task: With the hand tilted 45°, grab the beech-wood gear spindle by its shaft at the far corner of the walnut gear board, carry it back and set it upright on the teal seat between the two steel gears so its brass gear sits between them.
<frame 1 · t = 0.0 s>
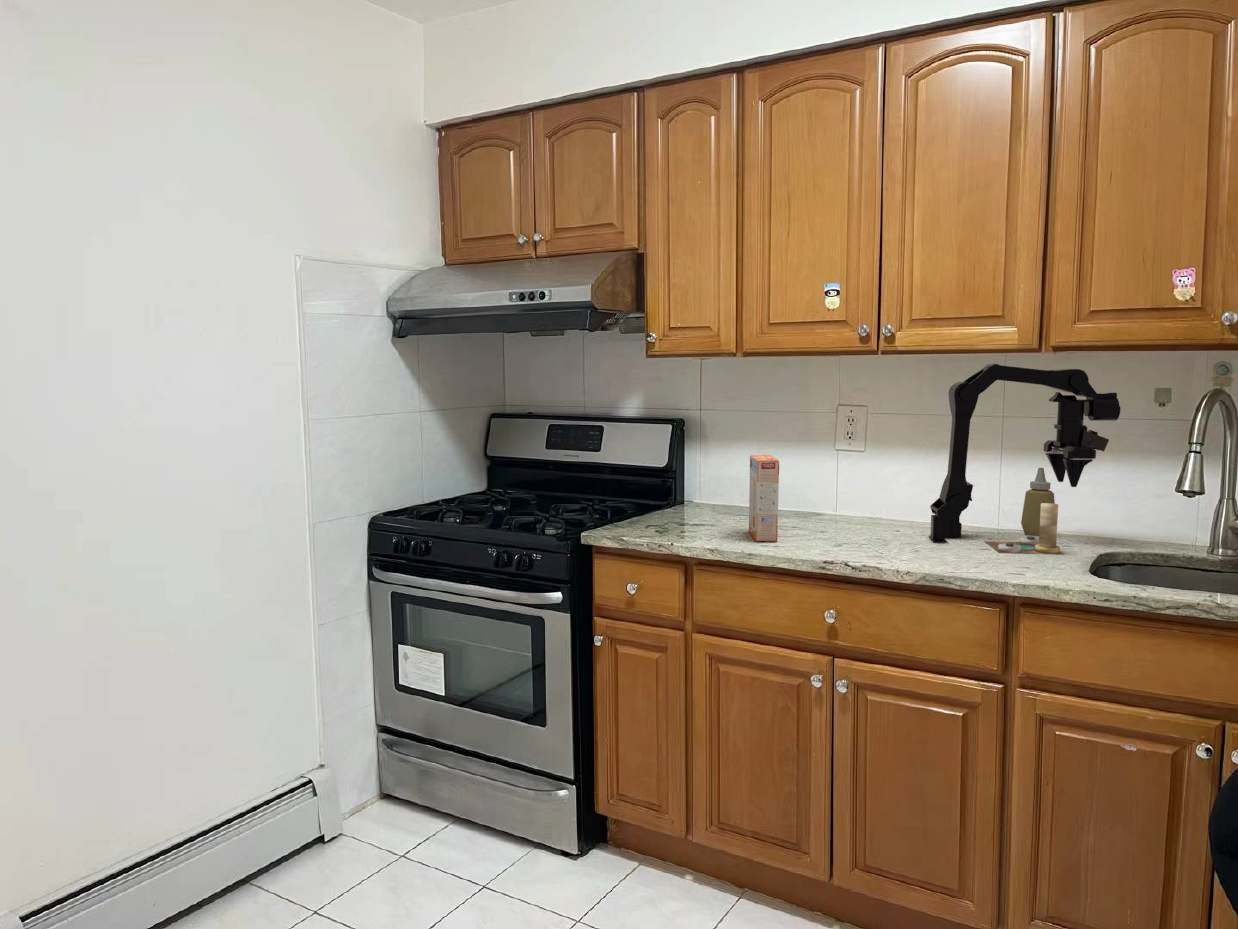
hand: (1067, 484, 218), 15 cm above the worktop, tool pointing down, fingers open, 9 cm apart
gear spindle: (1047, 551, 204), point 1 cm above the worktop, touching gear board
squeeze bottle: (1037, 539, 226), on the worktop
gear board: (1022, 552, 209), on the worktop
cracker box: (763, 537, 230), on the worktop
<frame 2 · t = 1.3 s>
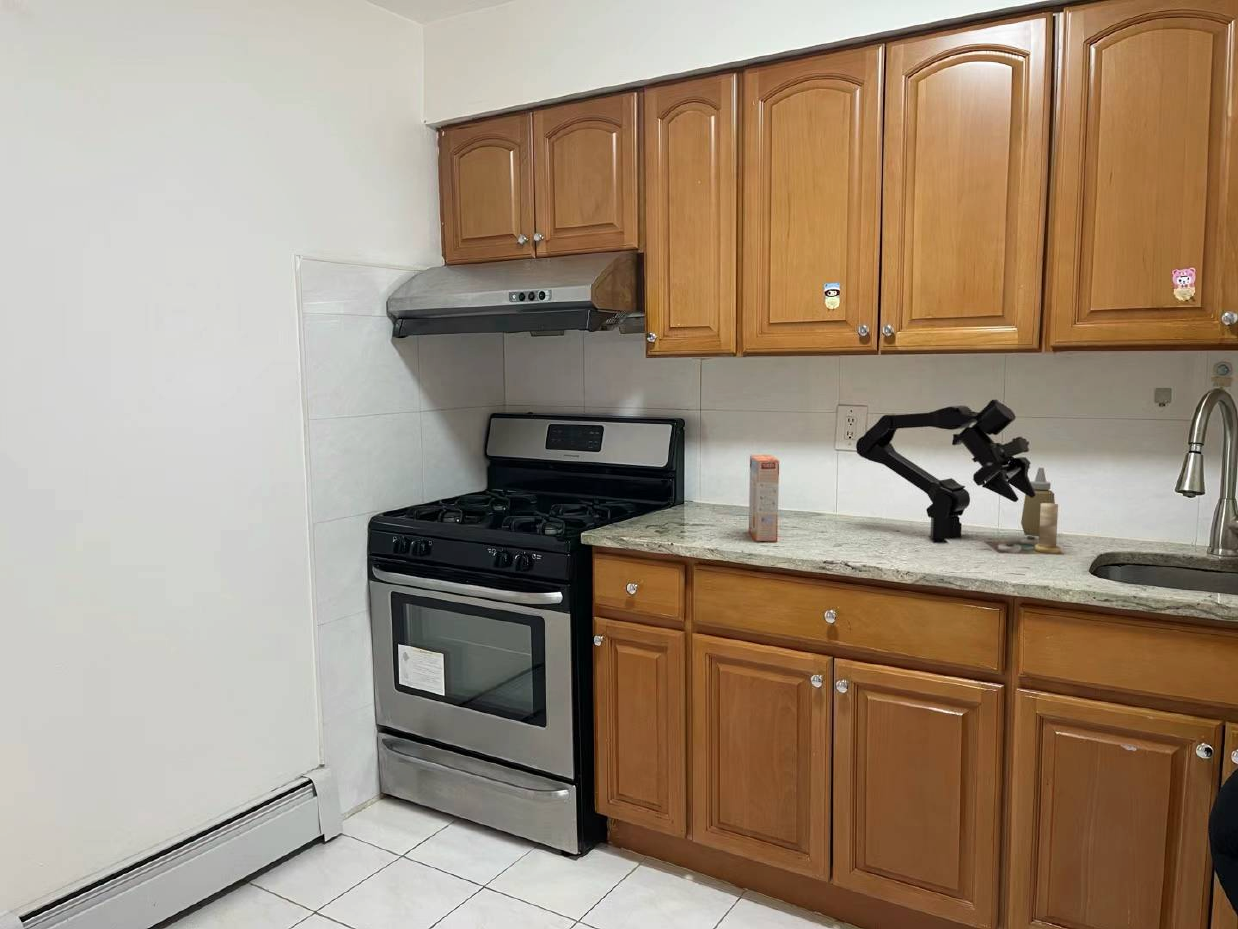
hand: (1025, 498, 207), 13 cm above the worktop, tool tilted 45°, fingers open, 9 cm apart
nothing on the worktop moved.
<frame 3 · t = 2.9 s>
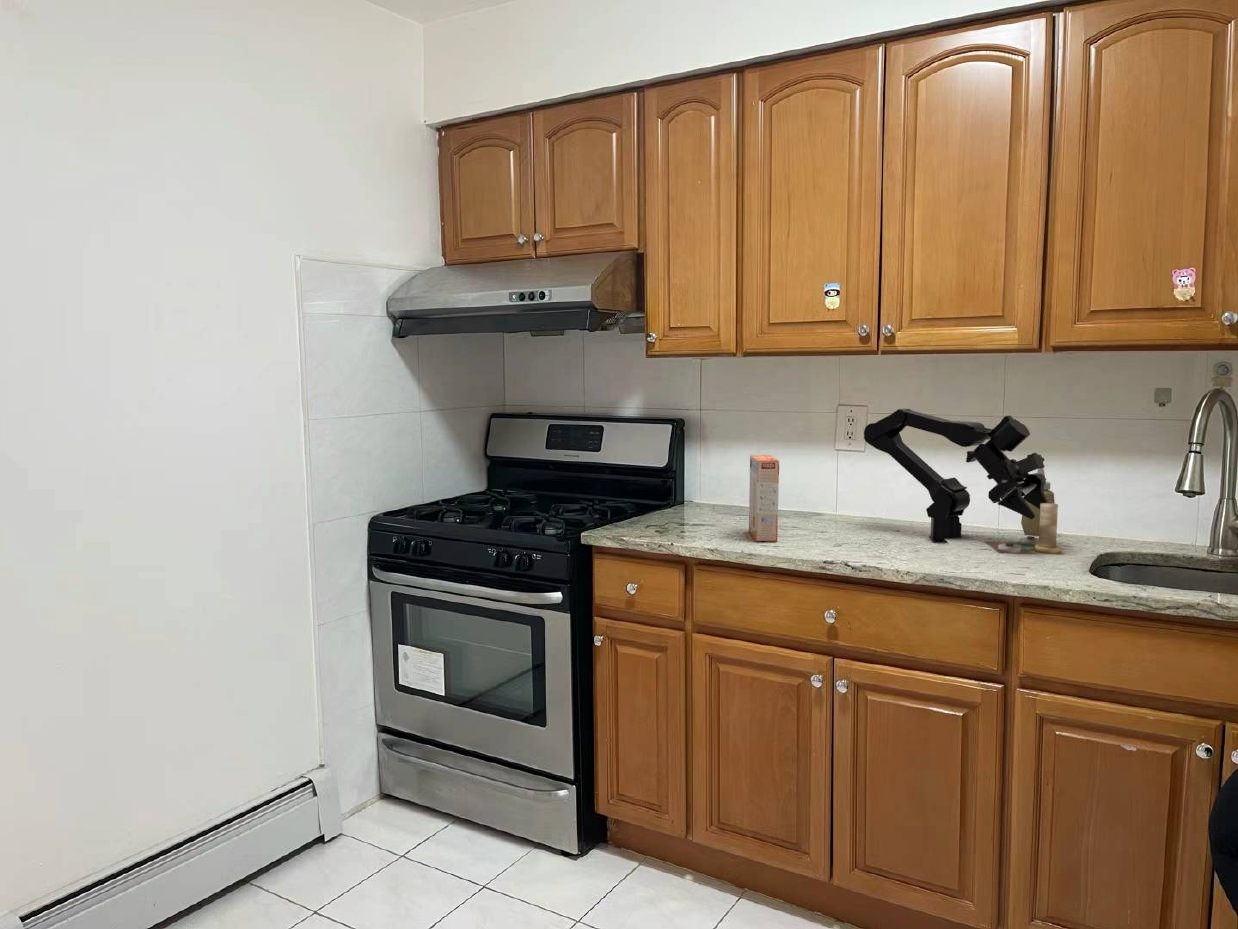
hand: (1042, 515, 205), 9 cm above the worktop, tool tilted 45°, fingers open, 9 cm apart
nothing on the worktop moved.
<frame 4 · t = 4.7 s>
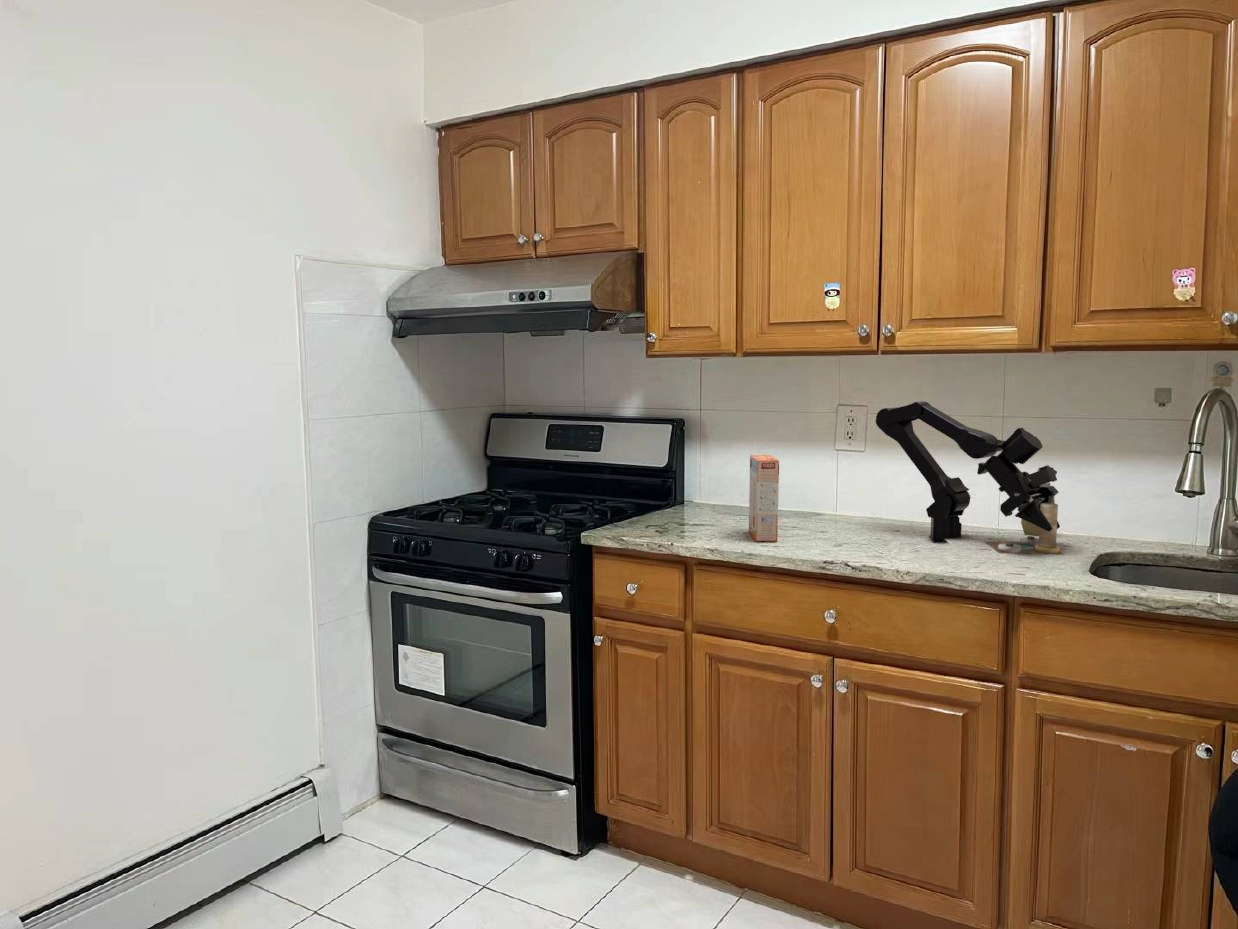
hand: (1054, 529, 203), 7 cm above the worktop, tool tilted 45°, fingers closed on gear spindle, 4 cm apart
gear spindle: (1047, 551, 204), point 1 cm above the worktop, touching gear board, gripper
everything else where it was.
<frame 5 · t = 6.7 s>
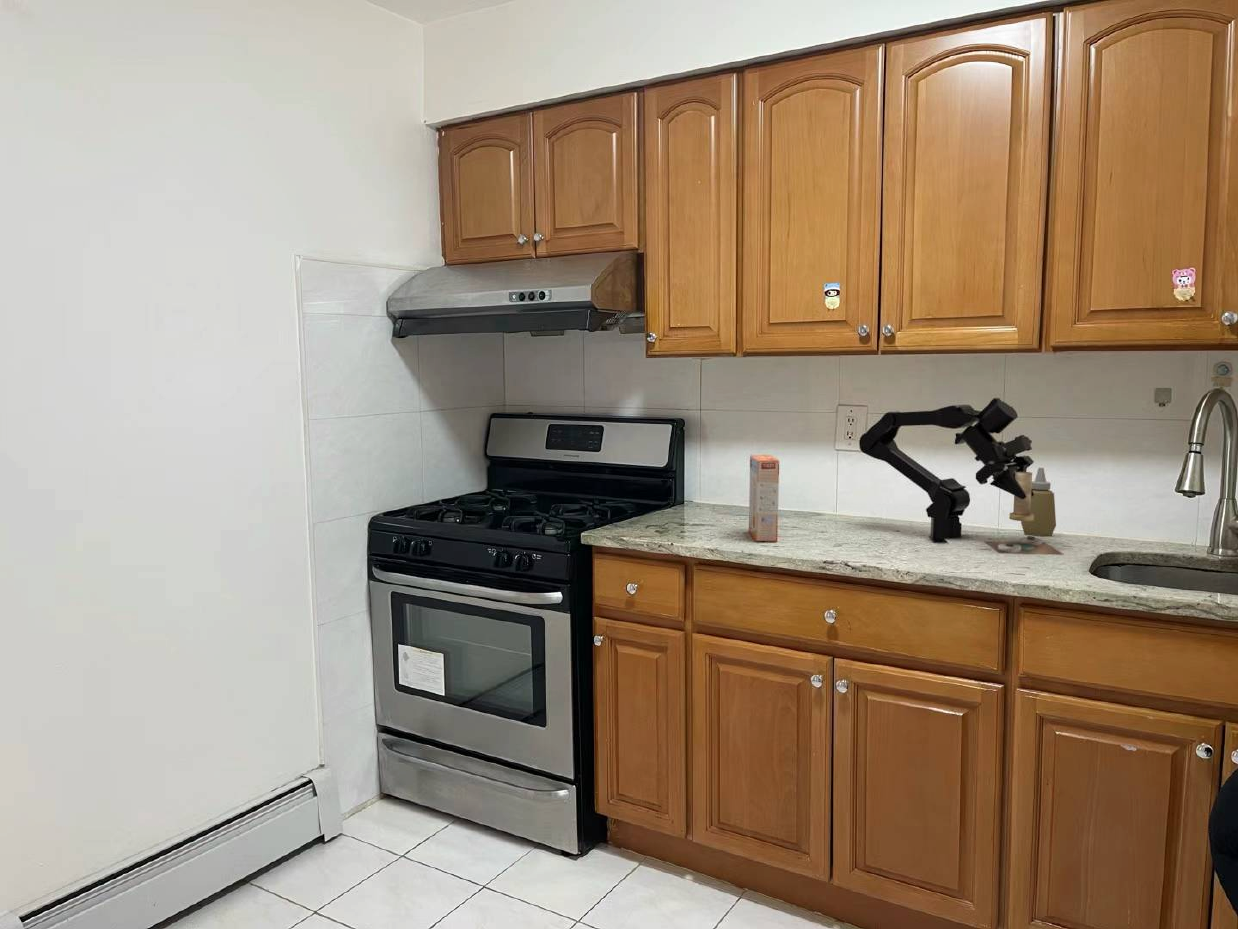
hand: (1028, 497, 206), 13 cm above the worktop, tool tilted 45°, fingers closed on gear spindle, 4 cm apart
gear spindle: (1021, 519, 208), point 8 cm above the worktop, touching gripper
everything else where it was.
when the fingers open (8 cm above the worktop, at t = 8.5 s): gear spindle drops 2 cm, resting on gear board.
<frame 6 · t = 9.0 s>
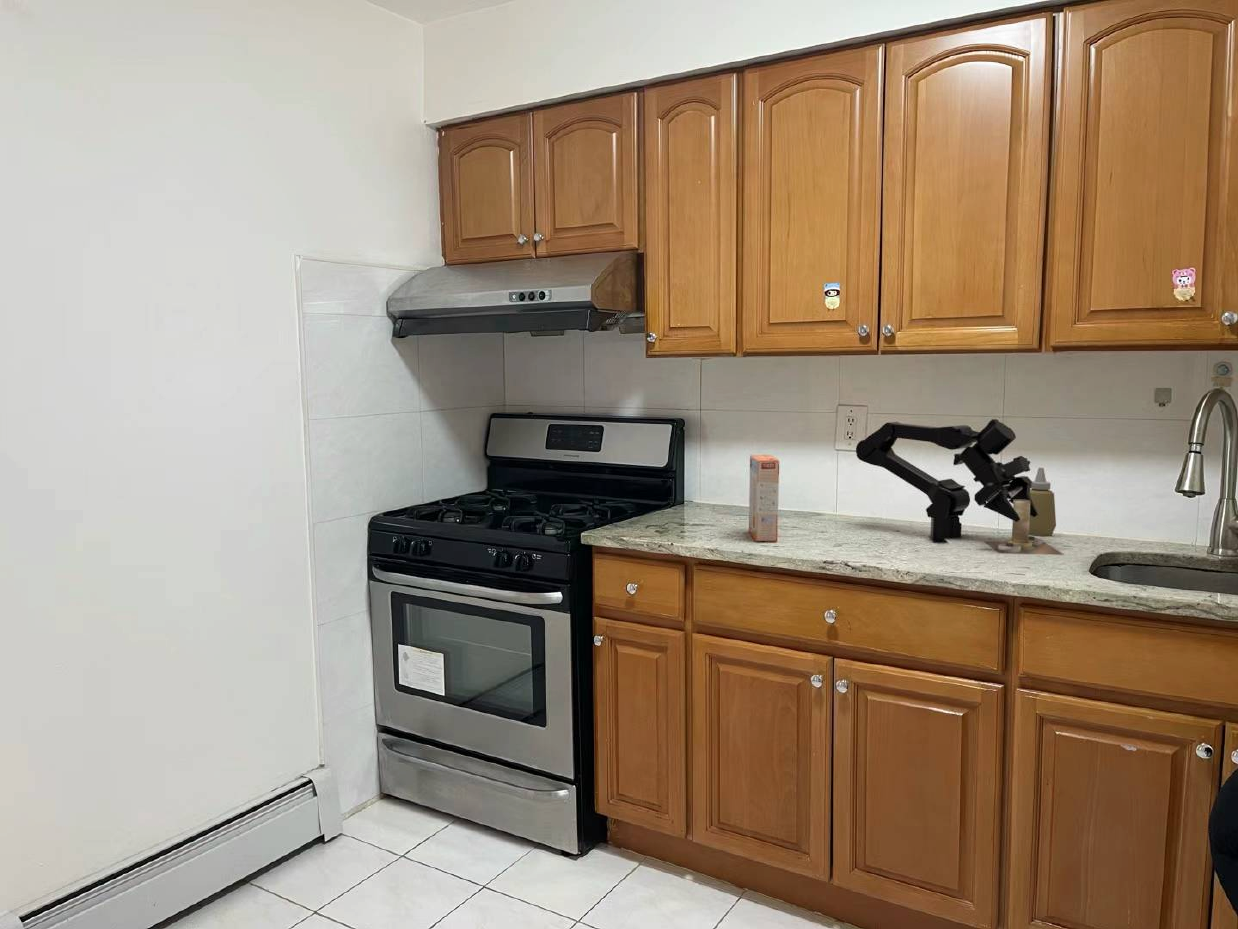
hand: (1027, 518, 207), 8 cm above the worktop, tool tilted 45°, fingers open, 9 cm apart
gear spindle: (1019, 546, 209), point 1 cm above the worktop, touching gear board
everything else where it was.
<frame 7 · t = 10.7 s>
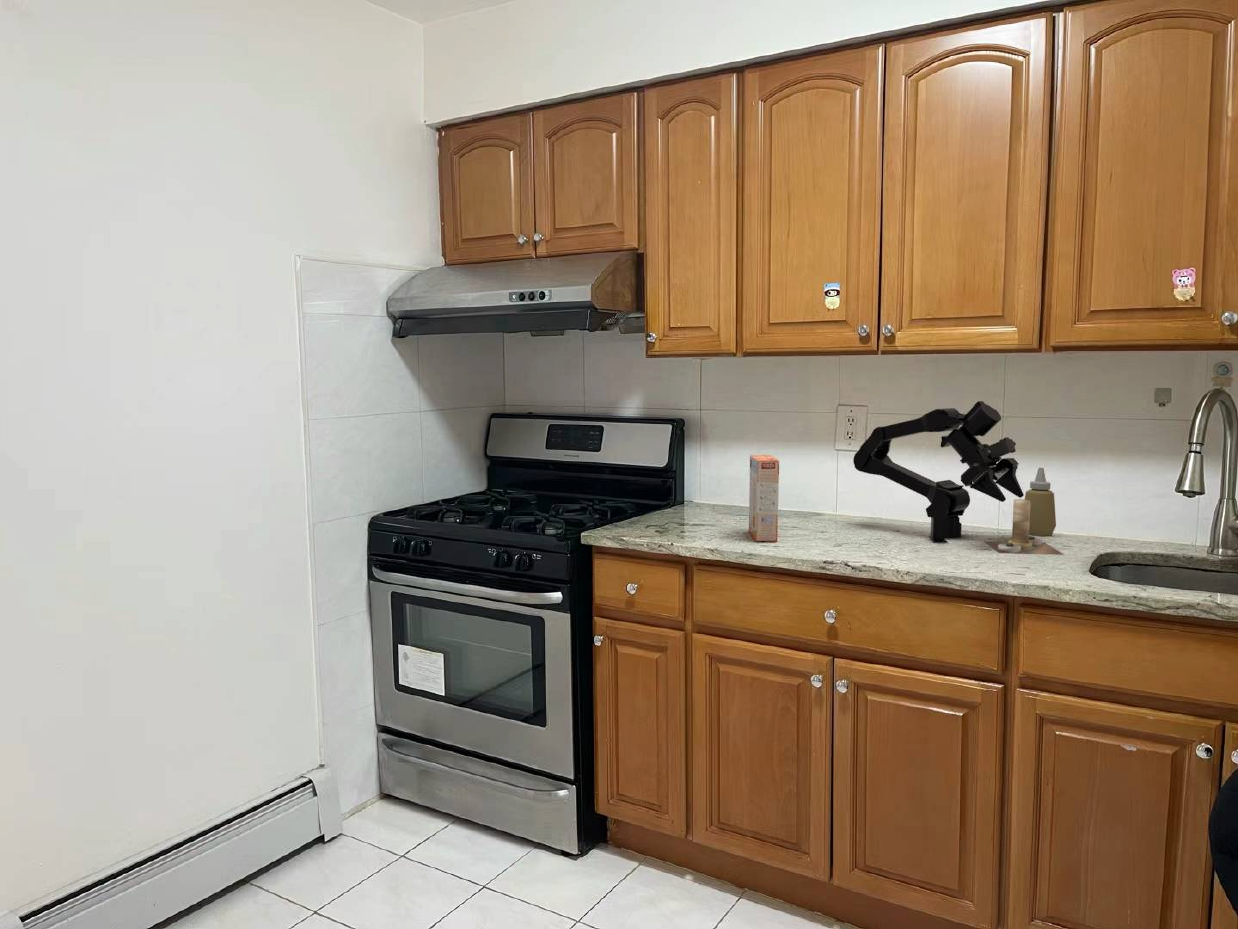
hand: (1013, 498, 209), 13 cm above the worktop, tool tilted 45°, fingers open, 9 cm apart
nothing on the worktop moved.
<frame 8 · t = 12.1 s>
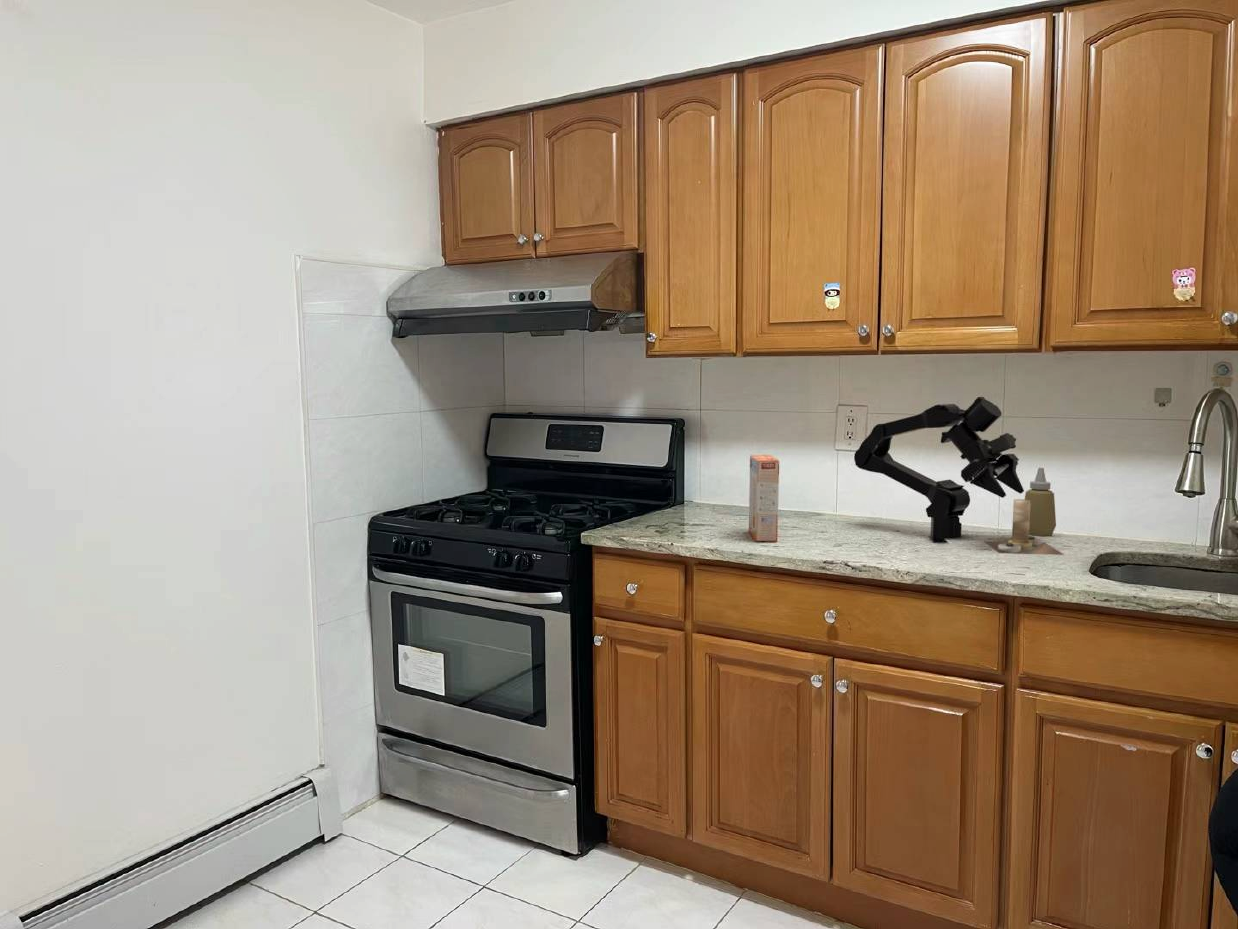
hand: (1013, 494, 209), 14 cm above the worktop, tool tilted 45°, fingers open, 9 cm apart
nothing on the worktop moved.
at the end: gear spindle 0.1 cm from the target spot, point 1.4 cm above the worktop; gear spindle tilted 0°; the gripper is holding nothing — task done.
